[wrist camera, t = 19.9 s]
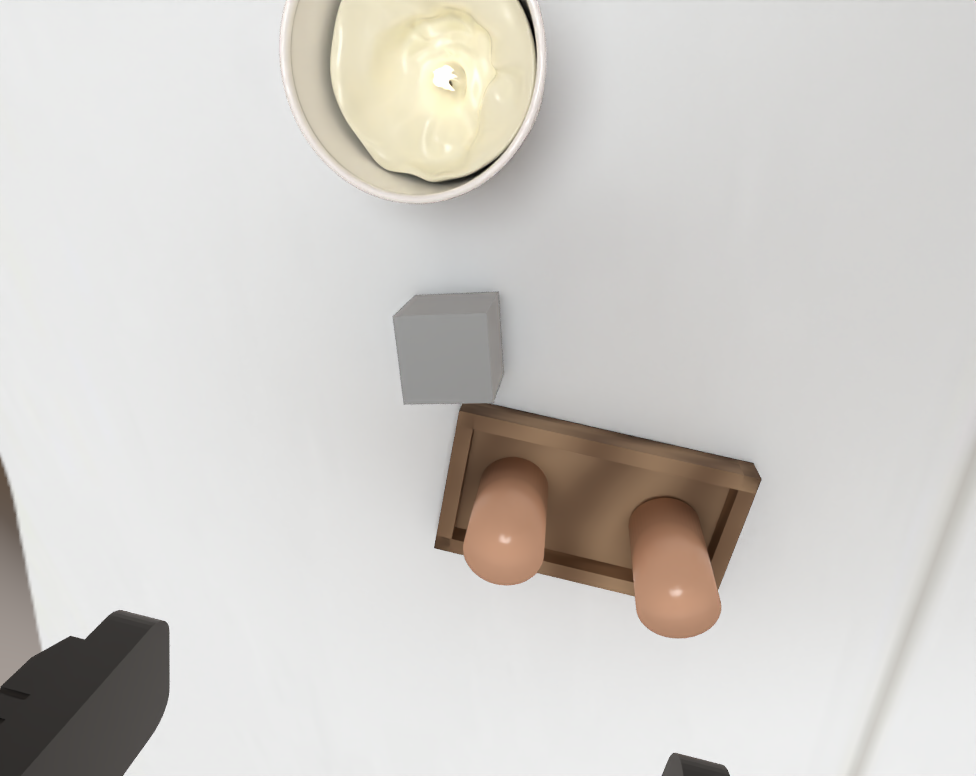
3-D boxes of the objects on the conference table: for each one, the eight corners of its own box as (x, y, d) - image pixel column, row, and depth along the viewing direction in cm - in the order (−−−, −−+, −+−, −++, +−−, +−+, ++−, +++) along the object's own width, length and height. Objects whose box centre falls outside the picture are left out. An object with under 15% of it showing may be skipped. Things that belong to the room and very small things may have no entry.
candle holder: (528, 204, 36) (502, 235, 25) (359, 154, 37) (261, 163, 26) (584, 7, 33) (583, -57, 22) (395, -47, 33) (299, -138, 22)
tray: (753, 463, 40) (761, 479, 38) (703, 593, 44) (708, 614, 42) (465, 398, 41) (459, 410, 39) (440, 531, 45) (434, 547, 43)
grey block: (498, 291, 39) (486, 313, 34) (504, 372, 40) (493, 402, 36) (415, 294, 39) (392, 316, 35) (424, 373, 41) (403, 404, 36)
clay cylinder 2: (692, 491, 40) (712, 569, 34) (706, 548, 42) (727, 632, 36) (621, 505, 41) (627, 582, 35) (637, 559, 43) (646, 643, 37)
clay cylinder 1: (548, 457, 41) (543, 517, 35) (548, 519, 43) (544, 586, 36) (478, 456, 42) (461, 514, 35) (481, 516, 43) (465, 583, 37)
